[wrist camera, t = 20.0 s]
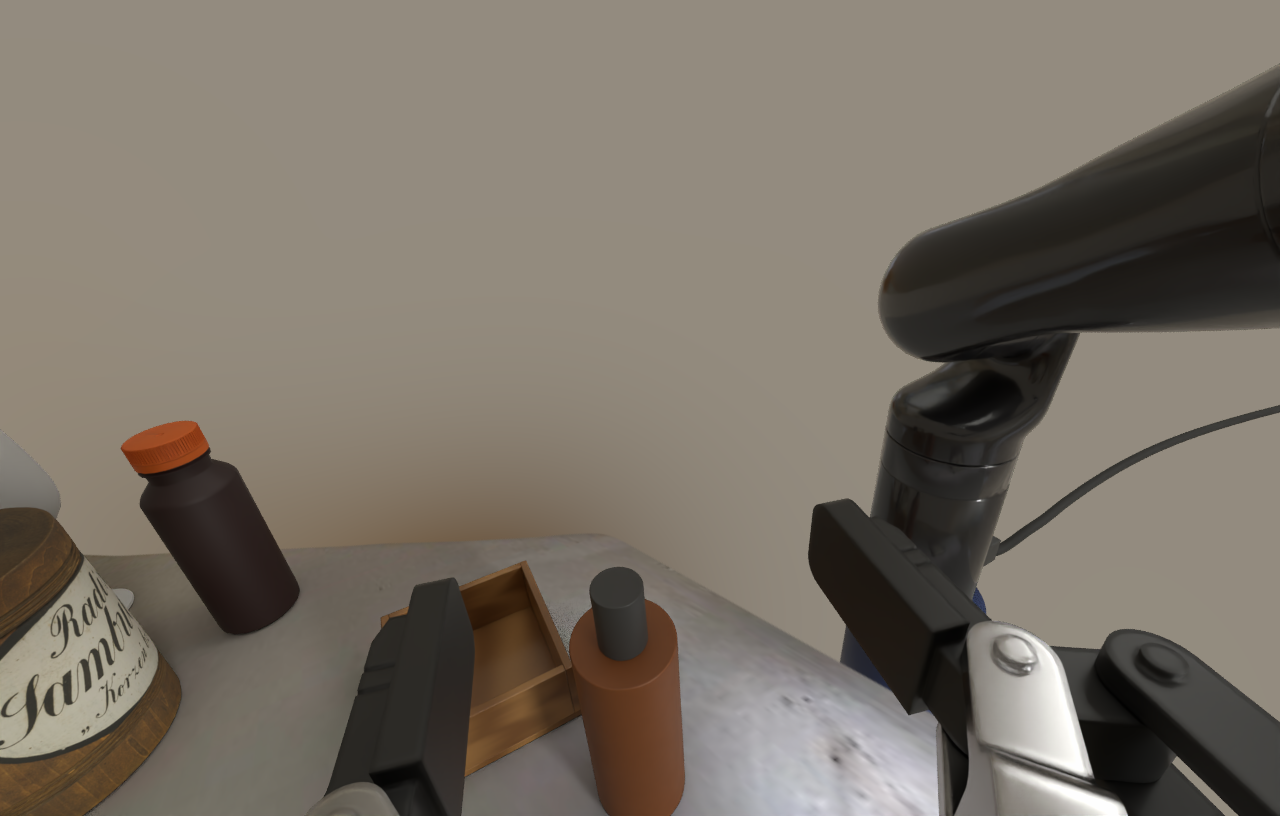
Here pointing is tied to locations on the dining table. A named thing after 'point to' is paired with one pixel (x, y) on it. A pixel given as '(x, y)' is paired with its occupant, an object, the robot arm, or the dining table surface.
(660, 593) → the dining table surface
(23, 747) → the wooden container
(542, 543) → the dining table surface
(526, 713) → the wooden box
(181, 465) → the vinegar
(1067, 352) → the robot arm
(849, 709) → the dining table surface
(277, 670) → the dining table surface
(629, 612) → the sauce bottle
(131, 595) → the wineglass
